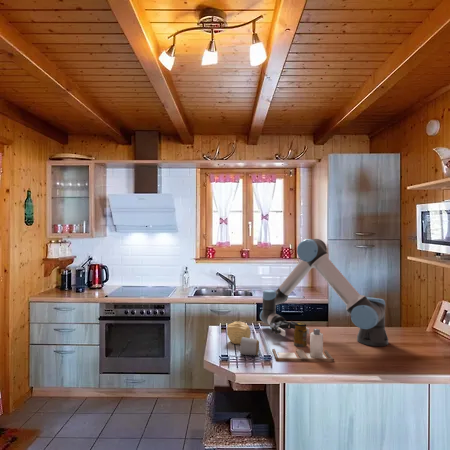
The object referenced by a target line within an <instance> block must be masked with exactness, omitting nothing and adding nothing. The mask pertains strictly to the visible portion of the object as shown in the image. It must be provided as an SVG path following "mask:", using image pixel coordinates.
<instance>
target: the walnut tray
mask: <svg viewBox="0 0 450 450" xmlns="http://www.w3.org/2000/svg"><path fill="white" fill-rule="evenodd" d="M272 353H273V357H274V359H275V362H308V363H312V362H315V363H317V362H319V363H335V359H334V357H333V356H332V355H331V353H330V352H329V351H328V350H327V349H323V358H312V357H310V352H305V351H304V349H301V348H300V349H299V348H297V349H295V352H276V349H275V348H272ZM296 354H297V355H296ZM297 356H298V357H297Z"/></svg>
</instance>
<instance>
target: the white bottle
mask: <svg viewBox="0 0 450 450" xmlns="http://www.w3.org/2000/svg"><path fill="white" fill-rule="evenodd" d="M309 353H310V357H312V358H323V354H324V333H321V329H319V328H313V331H312V332H309Z"/></svg>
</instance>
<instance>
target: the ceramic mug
mask: <svg viewBox="0 0 450 450" xmlns="http://www.w3.org/2000/svg"><path fill="white" fill-rule="evenodd" d="M259 349H260V341H259V339H256V338H251V337H250V338H245V337H242V339H241V345H240V347H239V353H240V355H242V356H243V355H245V356H252V355H256V356H258V355H259V351H260V350H259Z"/></svg>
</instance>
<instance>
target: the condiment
mask: <svg viewBox="0 0 450 450" xmlns="http://www.w3.org/2000/svg"><path fill="white" fill-rule="evenodd" d="M306 327H307V324H306V323H305V322H301V321H300V322H297V323H295V329H293V331H294V332H293V333H294V334H293V345H294V346H295V347H297V348H305V347H307V344H308V342H307V340H308V338H307V337H308V336H307V335H308V334H307V329H306Z"/></svg>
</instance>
